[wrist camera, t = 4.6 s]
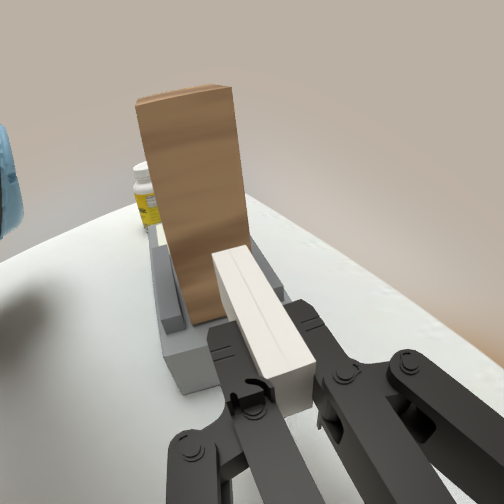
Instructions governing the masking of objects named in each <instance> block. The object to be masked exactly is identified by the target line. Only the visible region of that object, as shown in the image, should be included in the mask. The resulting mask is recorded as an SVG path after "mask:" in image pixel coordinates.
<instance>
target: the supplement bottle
mask: <svg viewBox="0 0 504 504" xmlns="http://www.w3.org/2000/svg"><path fill="white" fill-rule="evenodd" d="M133 172H134V176H135V178H136V179H137V181H136V182H135V184H134V186H133V190H134V194H135V198H136V201H137V205H138V208H139V212H140V215H141V219H142V222H143V225H144V228H145V230H146V231H147V232H148V226H150V225H154V224H158V223H161V218H160V215H159V211H158V207H157V203H156V199H155V195H154V191H153V187H152V183H151V178H150V174H149V170H148V165H147V161H145V162H142V163H140V164H138V165H136V166H135V167H134V168H133Z"/></svg>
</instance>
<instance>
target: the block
mask: <svg viewBox="0 0 504 504" xmlns="http://www.w3.org/2000/svg"><path fill="white" fill-rule="evenodd" d="M135 108H136V113H137V119H138V124H139V128H140V133H141V138H142V143H143V147H144V152H145V157H146V161H147V165H148V170H149V174H150V178H151V183H152V187H153V191H154V195H155V199H156V203H157V207H158V211H159V215H160V218H161V222H162V226H163V230H164V233H165V237H166V241H167V244H168V248H169V251H170V255H171V258H172V262H173V265H174V269H175V272H176V276H177V279H178V282H179V286H180V289H181V292H182V295H183V299H184V302H185V305H186V308H187V311H188V314H189V317H190V321H191V324H192V325H194V324H198V323H201V322H205V321H208V320H212V319H215V318H219V317H222V316H226V315H227V314H226V312H225V309H224V307H223V304H222V301H221V296H220V292H219V287H218V283H217V278H216V273H215V268H214V264H213V259H212V253H216V252H220V251H224V250H227V249H231V248H235V247H239V246H243V245H246V246H247V247H248V249H249V251H250V252H251V254H252V249H251V241H250V233H249V225H248V217H247V208H246V200H245V192H244V185H243V177H242V168H241V160H240V153H239V144H238V136H237V128H236V120H235V112H234V104H233V95H232V87H228V86H220V85H214V84H207V85H201V86H195V87H190V88H184V89H179V90H174V91H170V92H165V93H160V94H156V95H152V96H147V97H143V98H139V99H138V100H137V102H136V105H135Z"/></svg>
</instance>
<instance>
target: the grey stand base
mask: <svg viewBox="0 0 504 504" xmlns="http://www.w3.org/2000/svg"><path fill="white" fill-rule="evenodd" d="M148 236H149V248H150V259H151V269H152V279H153V288H154V297H155V305H156V312H157V320H158V327H159V334H160V340H161V347H162V353H163V358H164V360H165V362H166V364H167V366H168V368H169V370H170V372H171V374H172V376H173V378H174V380H175V382H176V384H177V386H178V388H179V390H180V392H181V394H182V395H184V394H188V393H192V392H196V391H200V390H203V389H207V388H210V387H214V386H218V385H220V382H219V379H218V376H217V372H216V369H215V366H214V363H213V360H212V357H211V353H210V350H209V347H208V344H207V340H206V339H207V334H208V330H209V328H210V327H214V326H217V325H221V324H224V323H228V322H229V320H228V317H227V315H226V316H222V317H219V318H215V319H212V320H208V321H205V322H201V323H198V324H194V325H192V324H191V321H190V317H189V314H188V311H187V308H186V305H185V302H184V299H183V295H182V292H181V289H180V286H179V282H178V279H177V276H176V272H175V269H174V265H173V262H172V258H171V255H170V251H169V248H168V244H167V241H166V237H165V233H164V230H163V226H162V222H161V223H158V224H154V225H150V226H148ZM250 241H251V249H252V256H253V257H254V259H255V261H256V262H257V264H258V266H259V267H260V269H261V271H262V272H263V274H264V276H265V277H266V279H267V281H268V282H269V284H270V286H271V287H272V289H273V291H274V292H275V294H276V296H277V297H278V299H279V301H280V302H281V304H282V305H284V304H287V303H291V302H292V301H291V299H290V298H289V296H288V295H287V293H286V291H285V290H284V288H283V284H282V283H281V281H280V280H279V278H278V277H277V275H276V274H275V272H274V271H273V269H272V267H271V266H270V264H269V263H268V261H267V260H266V258H265V257H264V255H263V254H262V252H261V251H260V249H259V248H258V246H257V245H256V243H255V242H254V240H253V239H252V237H251V236H250Z"/></svg>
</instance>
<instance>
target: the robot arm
mask: <svg viewBox="0 0 504 504" xmlns="http://www.w3.org/2000/svg"><path fill="white" fill-rule="evenodd" d="M23 214H24V212H23V203H22V197H21V193H20V187H19V183H18V179H17V176H16V171H15V165H14V160H13V155H12V151H11V147H10V143H9V139H8V135H7V132H6V129H5V127H4V126H3V125H2V124H0V240H1V239H2V238H3V236H5V235H6V234H8V233H9V232H11V231H13V230H14V229H15V228H17V227H18V226H19V225H20V223H21V222H22V219H23ZM212 259H213V264H214V268H215V273H216V278H217V283H218V287H219V292H220V296H221V301H222V304H223V307H224V309H225V312H226V314H227V317H228V320H229V322H228V323H224V324H221V325H217V326H214V327H210V328H209V330H208V334H207V339H206V340H207V344H208V347H209V350H210V353H211V357H212V360H213V363H214V366H215V369H216V372H217V376H218V379H219V382H220V385H221V388H222V391H223V394H224V398H225V408H224V410H223V412H222V414H221V415H220V417H219V418H218V419H217V420H216V421H214V422H213V423H212V424H210V425H209V426H207V427H205V428H204V429H202V430H194V429H190V430H186V431H182V432H181V433H179V434H177V435H176V436H175V437H174V438H173V439H172V441H171V442H170V445H169V448H168V460H167V484H166V504H233V491H232V478H233V477H235V476H236V475H238V474H239V473H241V472H242V471H244V470H245V469H247V468H248V467H250V469H251V472H252V475H253V477H254V480H255V482H256V485H257V487H258V490H259V492H260V495H261V497H262V500H263V502H264V504H325V502H324V500H323V498H322V496H321V494H320V492H319V490H318V488H317V486H316V484H315V482H314V480H313V478H312V476H311V474H310V472H309V470H308V468H307V466H306V464H305V462H304V460H303V458H302V456H301V454H300V452H299V450H298V447H297V445H296V443H295V441H294V439H293V437H292V435H291V433H290V431H289V429H288V427H287V424H286V422H285V420H284V418H285V417H288V416H290V415H293V414H296V413H298V412H301V411H304V410H306V409H309V408H311V407H312V405H313V401H314V403H315V405H316V406H317V408H318V410H319V412H318V419H317V427H318V430H319V429H321V427H322V426H323V428H324V430H325V432H326V434H327V436H328V437H329V439H330V441H331V443H332V445H333V447H334V449H335V450H336V452H337V454H338V456H339V458H340V460H341V461H342V463H343V465H344V467H345V469H346V470H347V472H348V474H349V476H350V478H351V480H352V481H353V483H354V485H355V487H356V489H357V490H358V492H359V494H360V496H361V498H362V499H363V501H364V503H365V504H457V503H456V502H455V500H454V499H453V497H452V496H451V494H450V493H449V491H448V490H447V488H446V486H445V485H444V483H443V482H442V480H441V479H440V477H439V476H438V474H437V473H436V471H435V470H434V468H433V467H432V465H433V466H434V467H435V468H436V469H438V470H439V471H440V472H441V473H442V474H443V475H444V476H446V477H447V478H448V479H449V480H450V481H451V482H453V483H454V484H455V485H456V486H457V487H458V488H460V489H461V490H462V491H463V492H464V493H465V494H467V495H468V496H469V497H470V498H471V499H472V500H474V501H475V502H476V503H477V504H504V418H503V417H502V416H501V415H499V414H498V413H497V412H496V411H494V410H493V409H492V408H491V407H489V406H488V405H487V404H486V403H484V402H483V401H482V400H481V399H479V398H478V397H477V396H475V395H474V394H473V393H472V392H470V391H469V390H468V389H467V388H465V387H464V386H463V385H461V384H460V383H459V382H458V381H456V380H455V379H454V378H452V377H451V376H450V375H449V374H447V373H446V372H445V371H443V370H442V369H441V368H440V367H438V366H437V365H436V364H434V363H433V362H432V361H430V360H429V359H428V358H427V357H425V356H424V355H423V354H421V353H419V352H417V351H416V350H410V349H405V350H400V351H398V352H397V353H395V354H394V355H393V357H392V358H391V360H390V361H388V362H381V363H373V364H364V363H359V362H358V361H356V360H354V359H352V358H349V357H348V356H347V354H346V353H345V352H344V351H343V349H342V348H341V346H340V345H339V343H338V342H337V341H336V339H335V338H334V336H333V335H332V333H331V332H330V330H329V329H328V328H327V326H325V323H324V322H323V320H322V319H321V318H320V317H319V315H318V313H317V312H316V310H315V309H314V308H313V306H311V305H310V304H308V303H307V302H305V301H304V300H302V299H300V300H297V301H294V302H291V303H287V304H284V305H282V304H281V302H280V301H279V299H278V297H277V296H276V294H275V292H274V291H273V289H272V287H271V286H270V284H269V282H268V281H267V279H266V277H265V276H264V274H263V272H262V271H261V269H260V267H259V266H258V264H257V262H256V261H255V259H254V257H253V256H252V254H251V252H250V251H249V249H248V247H247V246H246V245H243V246H239V247H235V248H231V249H227V250H224V251H220V252H216V253H212ZM430 463H431V464H432V465H431V464H430Z"/></svg>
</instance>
